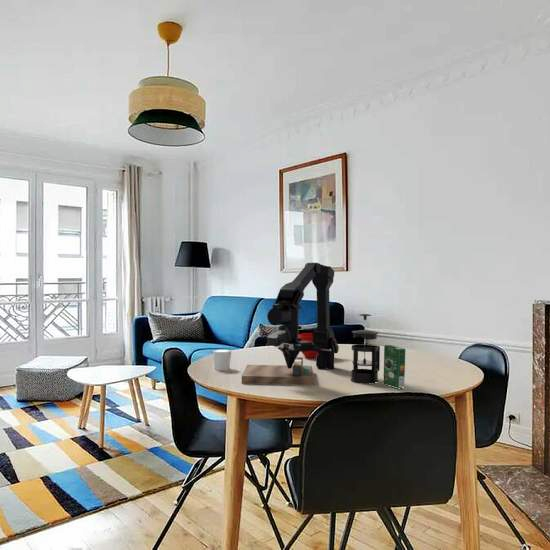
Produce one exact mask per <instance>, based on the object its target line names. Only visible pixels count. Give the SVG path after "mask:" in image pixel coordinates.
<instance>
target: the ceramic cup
mask: <svg viewBox="0 0 550 550" xmlns="http://www.w3.org/2000/svg"><path fill="white" fill-rule="evenodd" d="M312 333H313V332H302V333H298V338H301V341H310V342H312V339H313V336H312ZM335 340H336V341H337V339H336V338H335ZM328 350H330V349H328ZM301 354H302V355H303V356H304V357H305V358H306V359H315V360H316V355H318V352H314V350H312V351H304V352H301Z"/></svg>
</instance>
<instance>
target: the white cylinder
mask: <svg viewBox="0 0 550 550" xmlns="http://www.w3.org/2000/svg"><path fill="white" fill-rule="evenodd" d="M212 354H213V367H214V370H215V371H228V369H229V370H230V367H231V366H230V365H231V356H232V350H229V349H215V350H213V351H212Z"/></svg>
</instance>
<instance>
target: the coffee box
mask: <svg viewBox="0 0 550 550" xmlns="http://www.w3.org/2000/svg"><path fill="white" fill-rule="evenodd" d="M383 346H384V347H383V351H384V352H383V383H384V384H383V385H385V384H388V385H391V386H394V387H397V388H402V387H404V388H405V375H406V374H405V372H406V348H403V347H399V346H395V345H392V344H385V345H383ZM388 385H387V386H388ZM391 386H390V387H391ZM394 387H393V388H394Z"/></svg>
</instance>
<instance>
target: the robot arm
mask: <svg viewBox="0 0 550 550" xmlns="http://www.w3.org/2000/svg"><path fill="white" fill-rule="evenodd" d="M334 277H335V270H334V269H333V268H332V266H331V265H328V266H327V265H324V264H321V263H319V262H307V263H305V265H304V267H303V268H302V270H301V271H300V272H299V273H298V274H297V276H295V278H294V279H293V280H292V281H289V282H287V283H286V284H284V285H283V286H281V287H280V289H279V290H278V293H277V296H276V299H275V301H274V302H273V303H274V304H272V308H271V309H269V310H268V312H267V316H266V317H267V318H266V319H267V321H268V323H269V324H270V325H272V326H278V330H277V331H274V332H272V333H270V334H269V335H267V337H266V338H267V341H266V342H267V343H266V344H267V345H268V346H273V347H274V348H275V347H277V349H278V350H279V351H281V353H282V354H283V357H284V360H285V364H286V365H287V367H288V369H290V368H291V367H292V366H293V365H294V361H295V359H296V357H299V356H298V355H300V352H301V353H302V352H304V351H312V350H314V352H318V355H316V358H315V367H316V368H317V369H318V370H335V354H338V352H339V344H338V341H337V339H336V338H335V332H334V330H333V329H332V327H331V323H330V322H331V321H330V317H331V316H330V315H331V314H330V311H331V310H330V288H331V286H332V285H333V283H334ZM311 282H312V284H313V286H314V288H315V289H316V325H317V326H316V328H315V329H314V330H313V331H312V332H311V333H312V336H313V339H312V342H310V341H301V338H298V335H299V333H300V332H299V330H302V325H299V324H300V322H299V321H300V320H299V319H300V318H299V317H300V310H301V309H302V306H301V305H300V303H301V302H302V300H303V298H304V296H305V294H304V293H305V292H304V291H305V290H306V288H307V286H308V285H309V284H310V283H311ZM335 339H336V340H335ZM328 349H329V350H328Z"/></svg>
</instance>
